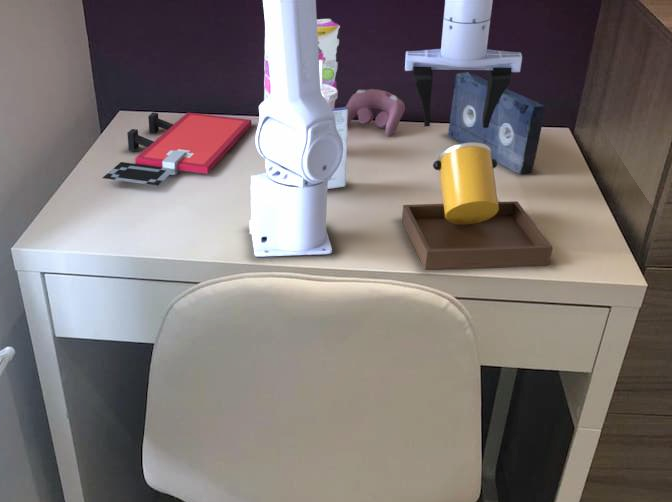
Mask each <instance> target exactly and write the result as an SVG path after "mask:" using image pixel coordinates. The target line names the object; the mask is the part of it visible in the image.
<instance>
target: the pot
mask: <svg viewBox="0 0 672 502" xmlns="http://www.w3.org/2000/svg"><path fill="white" fill-rule="evenodd" d="M491 156H492V154H491V149H490V148H489V147H488V146H487V145H485V144H482V143H475V142H471V143H463V144H462V143H459V144H455V145H453V146H450V147H448V148H445V150H443V151H442V152H441V153H440V154H439V156H438V158H437V160H435V161H434V162H433V164H432V167H433V169H434V170H435V171H439V179H440V185H441V186H440V187H441V194H442V195H441V196H442V204H444V212H445V218H446V220H447V221H448V222H450V223H453V224H459V225H467V224H475V223H479V222H482V221H485V220H488V219H490V218H491V217H493V216H494V215H496V214H497V212H498V210H499V206H498V202H499V199H498V192H497V186H496V185H497V184H496V179H495V171H494V169H495V168H497V167H498V163H497V161H496V160H495V159H492V157H491Z"/></svg>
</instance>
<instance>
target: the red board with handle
mask: <svg viewBox="0 0 672 502" xmlns="http://www.w3.org/2000/svg"><path fill="white" fill-rule="evenodd" d="M251 127H252V119H249V118H240V117H239V118H238V117H230V116H223V115H213V114H204V113H197V112H186V113H185V114H184V115H183V116H182V117H181V118H179V120H177V121H176V122H175V123H174V124H173V123H171V122H168V121H166V120H164V119H161V118H159V112H152V113H150V114H149V115H148V130H149V131H148V132H149V134H154V135H155V134H157V133H158V132H159V131H160V128H161V129H163V130H166V131H164V132H163V133H162V134H161V135H159V136H158V138H156V139H155V140H151V139H149V138H147V137H144V136H141V135H139V130H138V129H136V128H131V129H130V130H129V131H128V132H126V133H127V146H128V147H127V148H128V151H130V152H135V151H137V150H138V149H139V148H140V146H142V147H145V149H144V150H143V151H142V152H140V153H139V154H138V155H137V156H136V157H135V158H134V162H135V163H134V162H133V163H132V162H124V161H121V162H119V163H118V164H117V165H115V166H114V167H113V168H112V169H111V170H110V171H108V172H107V173H106V174H105V175H104V176H103V177H102V179H106V180H113V181H121V182H127V183H128V182H130V183H136V184H144V185H149V186H157V187H158V186H159V185H161V183H162V182H164V180H166V179H167V178H168V177H169V175H171V176H176V175H177V174H178V173H179V172H180V171H183V172H191V173H198V174H199V173H200V174H209V173H210V172H211V171H212V169H214V167H216V165H217V164H218V163H219V162H220V161H221V160H222V159H223V158H224V156H225V155H226V154H227V153H228V152H229V151H230V150H231V148H233V146H235V144H237V142H238V141H239V140H240V139H241V138H242V137H243V136H244V134H245V133H247V131H248V130H249V128H251Z"/></svg>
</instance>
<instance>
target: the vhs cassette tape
mask: <svg viewBox="0 0 672 502" xmlns="http://www.w3.org/2000/svg"><path fill="white" fill-rule="evenodd" d="M487 86H488V79H484V78H483V77H480V76H479V75H477V74H474V73H472V72H470V71H464V72H457V73H456V74H455V78H454V89H453V96H452V100H451V101H452V102H451V109H450V116H449V117H450V118H449V124H448V131H447V137H449V138H451V139H453V140H455V141H456V142H458V143H459V144H463V143H471V142H475V143H482V144H485V145H487V146H488V147H489V148H490V149H491V154H492V156H491V157H492V159H495V160H496V161H497V164H499V165H501V166H503V167H505V168H507V169H508V170H510V171H512V172H514V173H516V174H519V175H520V174H521V175H523V174H526V173H531V172H533V170H534V166H535V161H536V157H537V152H538V148H539V144H540V143H539V142H540V137H541V131H542V127H543V121H544V117H545V113H546V105H544V104H543V103H539V102H537V101H535V100H533V99H531V98H529V97H526V96H525V95H522V94H520V93H517V92H515V91H513V90H511V89H508V88H506V90H505V91H504V93H503V94H502V96H501V98H500V99H499V101H498V103H497V105H496V107H495V109H494V112H493V114H492V117H491V120H490V123H489V127H488V128H483V124H482V119H483V112H484V106H485V101H486V96H487Z"/></svg>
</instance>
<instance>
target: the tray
mask: <svg viewBox="0 0 672 502" xmlns="http://www.w3.org/2000/svg"><path fill="white" fill-rule="evenodd" d="M498 206H499V210H498V212H497V214H496V215H494V216H493V217H491V218H490V219H488V220H485V221H482V222H479V223H475V224H467V225H459V224H453V223H450V222H448V221H447V220H446V218H445V212H444V204H443V203H423V204H422V203H421V204H403V205H402V213H401V214H402V215H401V223H402V225H403V227H404V229H405V232H406V233H407V236H408V237H409V238H408V239H409V240H410V242H411V244H412V246H413V248H414V250H415V252H416V254H417V256H418V259H419V260H420V263H421V265H422V267H423V269H424V270H449V269H450V270H451V269H452V270H453V269H476V268H477V269H478V268H504V267H507V268H508V267H527V266H529V267H530V266H531V267H532V266H533V267H534V266H549V265H550V264H551V263H550V262H551V258H552V254H553V248H554V246H553V245H552V244H551V243H550V242H549V240H548V238H546V236H545V235H544V234H543V232H542V230H541V229H540V228H539V227H538V226H537V225H536V223H535V221H533V220H532V218H531V217H530V215H529V214H528V213H527V212H526V210H525V209H524V208H523V206H522V205H521V203H519V201H517V200H516V201H515V200H514V201H498Z"/></svg>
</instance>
